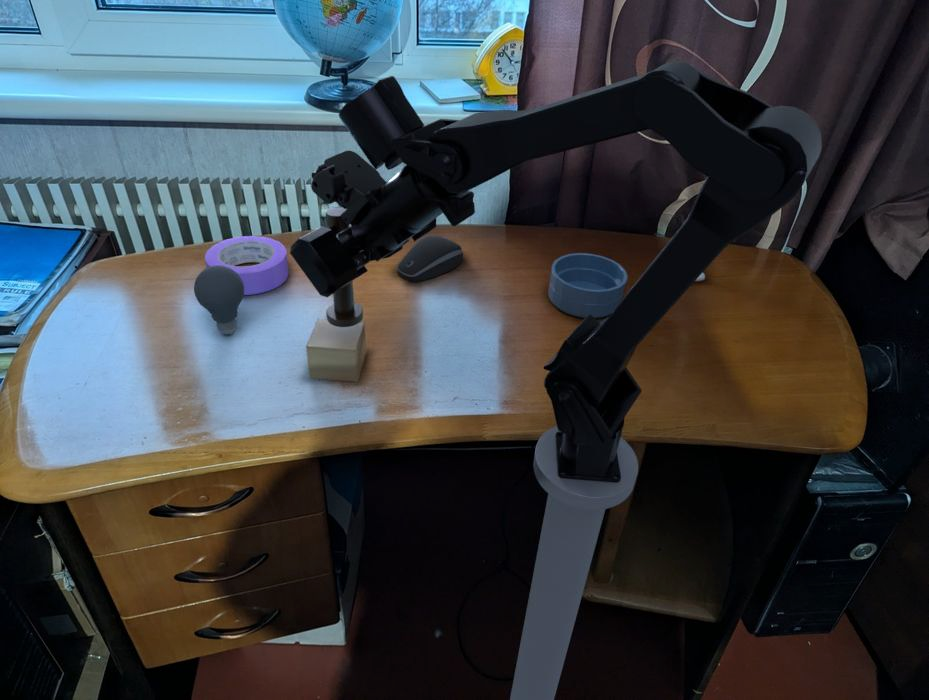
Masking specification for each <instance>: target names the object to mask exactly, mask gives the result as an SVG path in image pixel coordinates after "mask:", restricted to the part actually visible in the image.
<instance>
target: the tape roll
mask: <svg viewBox="0 0 929 700" xmlns="http://www.w3.org/2000/svg"><path fill="white" fill-rule="evenodd" d="M204 262H205V266H206V267H205V268H208V267H211V266H217V265H219V266H226V267H229V268H231V269H232V270H234V271H235V272H237V273H238V275H239V276H240V278H241V279H242V281H243V284H244V296H252V295H258V294H263V293H264V294H265V293H267V292H269V291H272V290H274V289H276V288H278V287H280V286H281V285H282V284H284V283H285V282H286V281H287V280H288V277H289V273H290V271H289V262H288V253H287V249H286V247H285V245H284V244H283V243H281V242H280V241H278V240H276V239H273V238H271V237H265V236H261V235H244V236H236V237H232V238H228V239H224V240H221V241H219V242H217V243H216V244H214V245H212V246H211V247H209V249H208V250H207V251H206V252H205V255H204ZM247 263H257V264H253V265H246V266H238V265H241V264H247Z"/></svg>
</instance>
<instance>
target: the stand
mask: <svg viewBox="0 0 929 700" xmlns="http://www.w3.org/2000/svg"><path fill="white" fill-rule="evenodd" d="M308 338H309V339H308V341H307V343H306V345H305V349H306V358H307V366H308V373H309V374H308V375H309V379H314V380H316V379H317V380H329V381H340V382H341V381H342V382H352V383H353V382H354V383H355V382H356V383H358V381H359V379H360V375H361V372H362V368H363V365H364V362H365V359H366V355H367V338H366V321H361V322H359V323H358V324H356V325H354V326H350V327H337V326H334V325H332V324H330V323H329V322H328V321H327V318H321V317H320V318H317V319H316V322H315V324H314V327H313V328H312V331H311V333H310V335H309V337H308Z"/></svg>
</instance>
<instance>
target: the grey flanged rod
mask: <svg viewBox="0 0 929 700" xmlns="http://www.w3.org/2000/svg"><path fill="white" fill-rule="evenodd" d="M345 210H346V209H345V208H343V207H341V206H335V207H334V206H333V207H330V208H328V209H326V211H325V220H326V221H325V223H326V228H330V227H332V226H334V225H336V226H337V228H338V229H339V231H340V232H342V231H343V230H345V229H347V228H349V227H350V224H349V225H347V224H346V223H345V221H344V220H343V219H342V217H341V216H340V215H341V214H342V213H343V212H344V211H345ZM353 281H354V280H353ZM353 281H352V282H350V283H349V284H347V285H346V286H344V287H343V288H341V289H340V290H338V291H337V292H335V293H333V294H332V299H333V303H331V304H329V306H328V307H326V311H325V314H326V319H327V321H328V322H329V323H330V324H332V325H334V326H337V327H350V326H354V325H356V324H358V323H359V322H362V320H363V319H364V310H363V306H362V305H361V304H360V303H358V302H356V301H355V298H354V297H355V296H354V283H353Z"/></svg>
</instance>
